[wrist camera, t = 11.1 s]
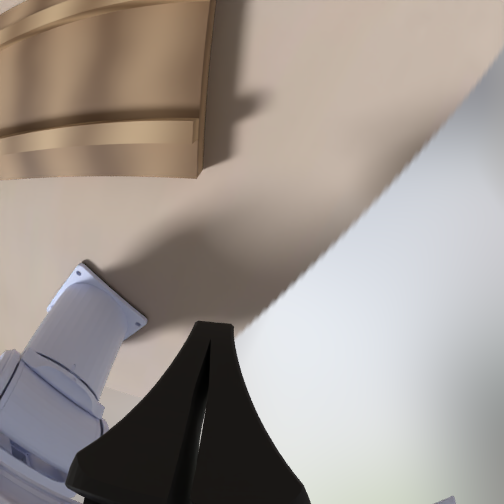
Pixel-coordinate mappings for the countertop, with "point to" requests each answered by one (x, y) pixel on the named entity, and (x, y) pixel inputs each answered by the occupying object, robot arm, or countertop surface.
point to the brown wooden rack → (104, 88)
